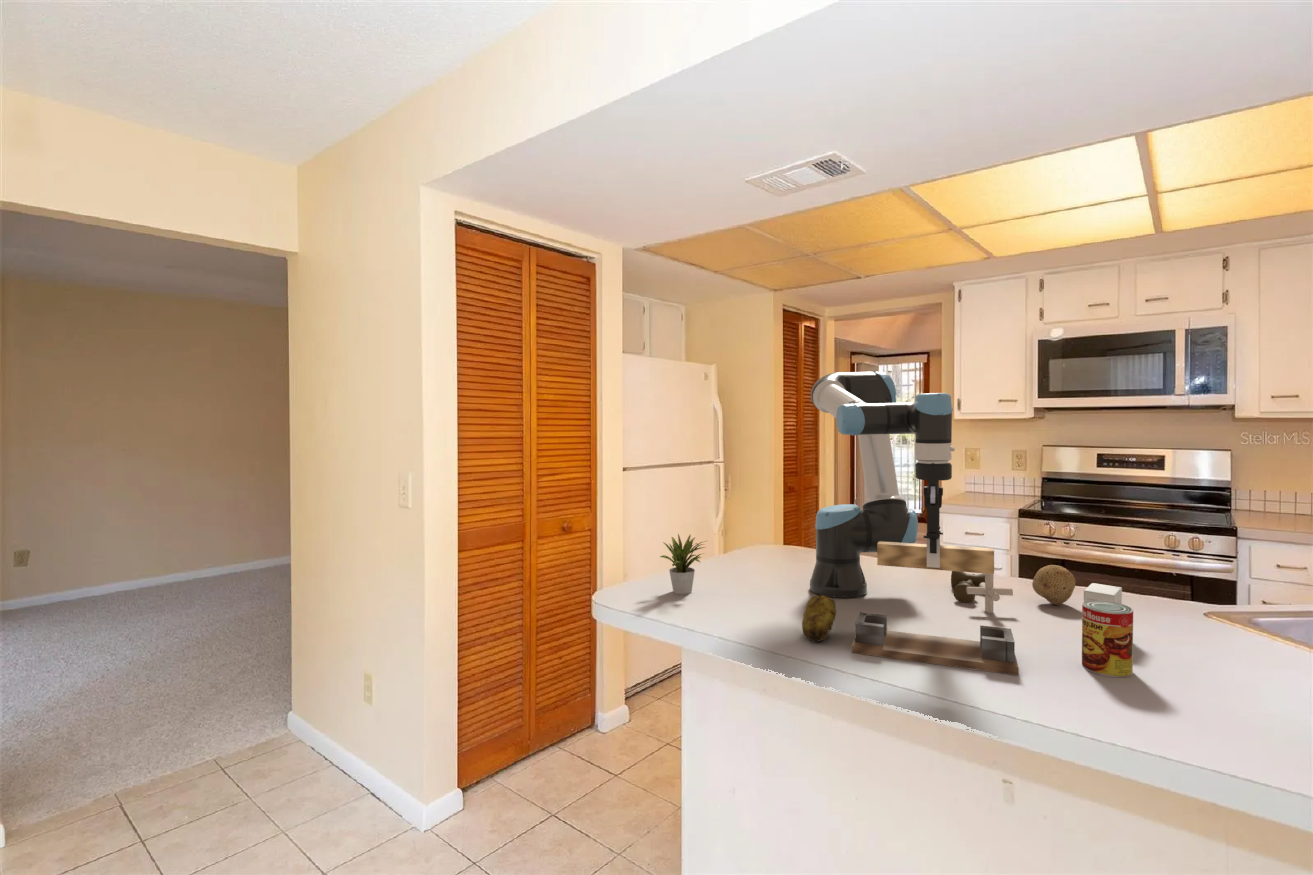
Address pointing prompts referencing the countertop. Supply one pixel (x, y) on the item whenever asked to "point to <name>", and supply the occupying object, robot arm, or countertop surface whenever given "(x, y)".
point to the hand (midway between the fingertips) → (933, 564)
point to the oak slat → (949, 557)
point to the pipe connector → (989, 592)
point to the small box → (1103, 593)
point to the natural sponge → (1054, 584)
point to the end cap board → (937, 646)
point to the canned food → (1107, 638)
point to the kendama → (965, 585)
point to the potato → (818, 617)
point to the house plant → (682, 565)
